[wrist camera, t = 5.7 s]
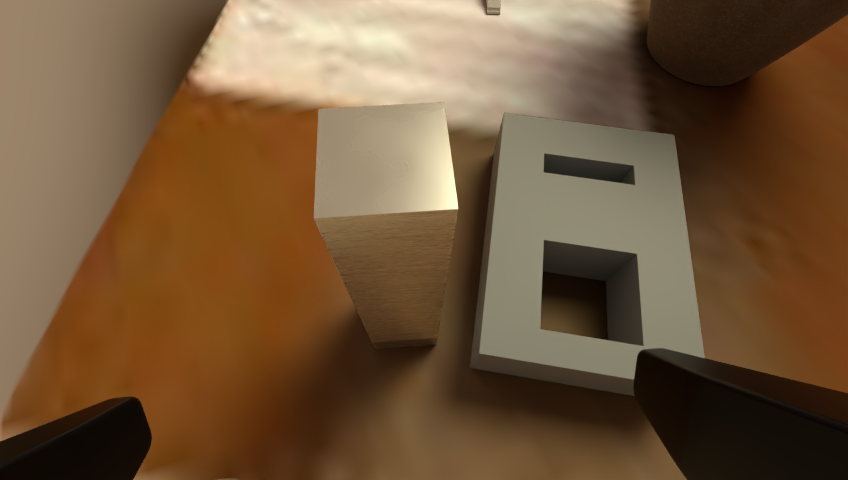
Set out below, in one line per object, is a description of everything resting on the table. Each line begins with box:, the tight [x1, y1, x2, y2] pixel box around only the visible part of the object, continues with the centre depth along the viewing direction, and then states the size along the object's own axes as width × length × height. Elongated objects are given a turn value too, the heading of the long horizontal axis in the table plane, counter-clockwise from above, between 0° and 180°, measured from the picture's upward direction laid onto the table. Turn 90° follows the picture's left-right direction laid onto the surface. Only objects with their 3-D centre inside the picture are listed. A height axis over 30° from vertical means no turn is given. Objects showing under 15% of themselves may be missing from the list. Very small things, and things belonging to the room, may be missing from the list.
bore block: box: [470, 113, 705, 396], centre depth 21 cm, size 13×9×4 cm
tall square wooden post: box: [314, 102, 458, 350], centre depth 15 cm, size 3×3×13 cm
